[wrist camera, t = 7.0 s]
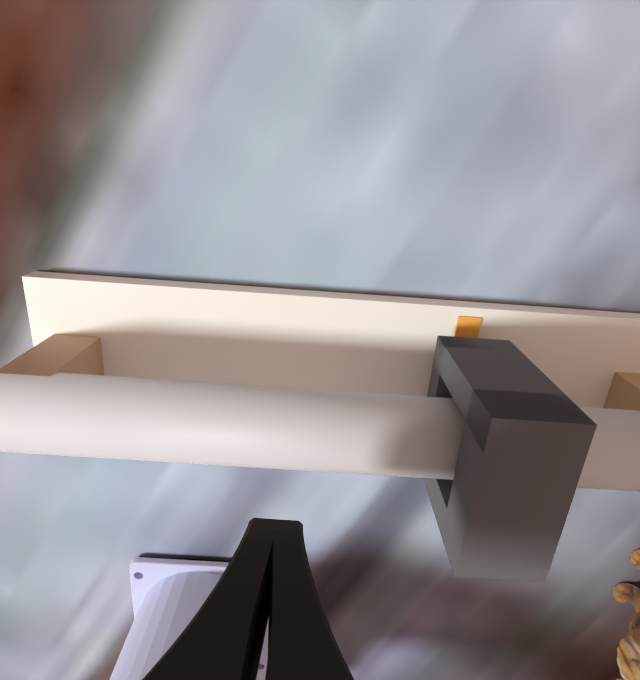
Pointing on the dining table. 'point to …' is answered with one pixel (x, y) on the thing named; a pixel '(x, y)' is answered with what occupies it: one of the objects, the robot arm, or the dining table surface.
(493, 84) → the dining table surface
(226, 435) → the pipe stand
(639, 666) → the lion figurine
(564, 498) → the collar
